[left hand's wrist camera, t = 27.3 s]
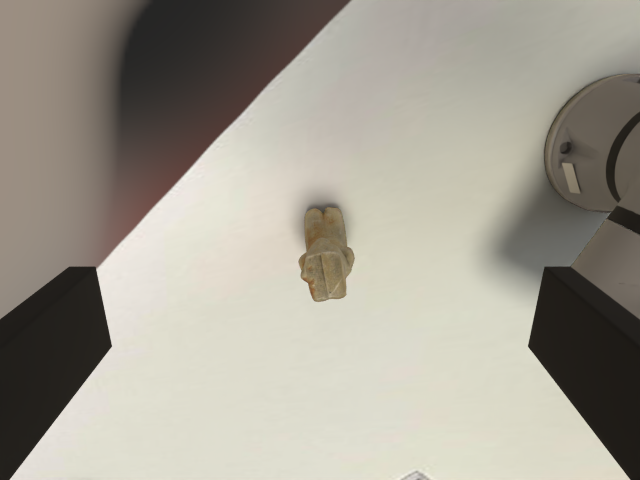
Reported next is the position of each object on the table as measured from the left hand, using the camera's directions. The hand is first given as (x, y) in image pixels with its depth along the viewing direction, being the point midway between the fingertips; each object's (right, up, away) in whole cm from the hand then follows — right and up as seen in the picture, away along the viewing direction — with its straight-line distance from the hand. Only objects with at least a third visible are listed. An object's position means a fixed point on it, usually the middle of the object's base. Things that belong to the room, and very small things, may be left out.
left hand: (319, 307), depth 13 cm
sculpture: (+1, +3, +41) cm, 41 cm away
